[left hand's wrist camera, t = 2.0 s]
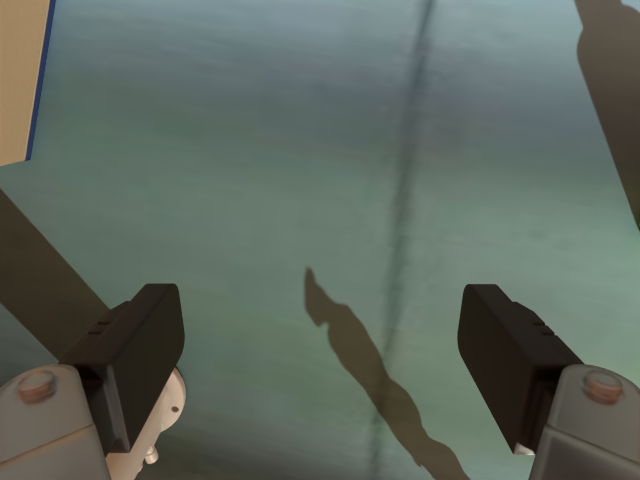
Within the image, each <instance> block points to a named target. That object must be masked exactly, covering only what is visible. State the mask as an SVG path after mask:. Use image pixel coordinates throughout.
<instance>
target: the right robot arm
mask: <svg viewBox="0 0 640 480" xmlns="http://www.w3.org/2000/svg"><path fill="white" fill-rule="evenodd" d="M185 399H186V388H185V385H184V381H183V379H182V377H181V375H180V373H179V372H178V370H177V369H176V368H174V370H173V372H172V374H171V375H170V377H169V379H168V381H167V383H166V385H165V387H164V389H163V391H162V393H161V394H160V396H159V398H158V400H157V402H156V404H155V406H154V408H153V410H152V412H151V413H150V415H149V417H148V419H147V421H146V423H145V425H144V427H143V429H142V430H141V432H140V434H139V436H138V438H137V440H136V442H135V444H134V446H133V448H132V449H131V451H130V453H108V455H107V457H106V458H105V459H106V462H107V466H108V469H109V472H110V476H111V479H112V480H134V479H135V477H136V475H137V473H138V472H139V471H140V470H141V469H142V468H143V463H142V462H143V460H144V458H145V460H146V462H147V463H148V464H151V463H154V462H155V461H156V460H157V459H158V453H157V450H156V448H155V447H154V444H155V442H156V440H157V438H158V436H159V433H160V432H161V431H164V430H165V429H167V428H168V427H170V426H171V425H172V424H173V423H174V422H175V421H176V420H177V419H178V417H179V415H180V414H181V412H182V409H183V407H184V404H185Z"/></svg>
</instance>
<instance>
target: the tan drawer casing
mask: <svg viewBox="0 0 640 480" xmlns="http://www.w3.org/2000/svg"><path fill="white" fill-rule="evenodd" d="M55 2H56V0H0V166H2V165H7V164H11V163H15V162H20V161H27V160H30V157H31V151H32V145H33V139H34V132H35V126H36V120H37V114H38V108H39V101H40V95H41V89H42V83H43V76H44V70H45V64H46V58H47V51H48V45H49V39H50V33H51V26H52V20H53V14H54V8H55Z"/></svg>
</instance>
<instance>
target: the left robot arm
mask: <svg viewBox="0 0 640 480" xmlns="http://www.w3.org/2000/svg"><path fill="white" fill-rule="evenodd" d="M457 338H458V348H459V352H460V355H461V357H462V359H463V361H464V363H465V365H466V366H467V368H468V370H469V372H470V374H471V376H472V378H473V380H474V381H475V383H476V385H477V387H478V389H479V391H480V393H481V395H482V396H483V398H484V400H485V402H486V404H487V406H488V408H489V409H490V411H491V413H492V415H493V417H494V419H495V421H496V423H497V424H498V426H499V428H500V430H501V432H502V434H503V436H504V438H505V439H506V441H507V443H508V445H509V447H510V449H511V451H512V453H513V454H514V455H535V459H534V462H533V466H532V469H531V472H530V476H529V479H528V480H640V389H639V388H638V387H637V386H636V385H635V384H634V383H632V382H631V381H630V380H628V379H626V378H625V377H623V376H621V375H619V374H617V373H615V372H613V371H610V370H607V369H605V368H601V367H598V366H593V365H586V364H584V363H583V362H582V361H581V360H580V359H579V358H578V357H577V356H576V355H575V354H574V353H573V352H572V351H571V349H570V348H569V347H568V346H567V345H566V344H565V343H564V342H563V341H562V340H561V339H560V338H559V337H558V336H557V335H554V332H553V331H552V330H551V329H550V328H549V327H548V326H545V323H544V322H543V321H542V320H541V319H540V318H539V317H538V316H537V315H536V313H535V312H533V311H532V310H530V309H528V308H526V307H525V306H523V305H521V304H519V303H518V302H512V301H511V300H510V299H509V298H508V297H507V295H506V294H505V293H504V292H503V291H502V290H501V289H500V288H499V287H498V286H497V285H496V284H468V285H466V287H465V289H464V292H463V298H462V306H461V313H460V320H459V327H458V337H457ZM184 339H185V334H184V326H183V318H182V311H181V304H180V297H179V291H178V287H177V286H176V284H146V285H144V287H143V288H142V289H141V290H140V291H139V292H138V293H137V294H136V295H135V296H134V298H133V299H132V300H131V301H125V302H124V303H122V304H120V305H118V306H117V307H115V308H113V309H111V310H110V311H108V312H107V313H106V314H105V315H104V317H103V318H102V319H101V320H100V321H99V322H98V325H95V326H94V327H93V328H92V329H91V330H90V331H89V334H88V335H85V336H84V337H83V338H82V339H81V340H80V341H79V342H78V344H77V345H76V346H75V347H74V348H73V349H72V350H71V351H70V352H69V353H68V354H67V355H66V356H65V357H64V358H63V359H62V360H61V361H60V362H59V363H58V364H54V365H47V366H42V367H39V368H35V369H33V370H30V371H27V372H25V373H23V374H21V375H19V376H17V377H15V378H14V379H12V380H10V381H9V382H8V383H6V384H5V385H4V386H3V387H2V388H1V389H0V480H112V479H111V476H110V472H109V469H108V466H107V462H106V459H105V458H106V457H107V455H108V453H130V451H131V449H132V448H133V446H134V444H135V442H136V440H137V438H138V436H139V434H140V432H141V430H142V429H143V427H144V425H145V423H146V421H147V419H148V417H149V415H150V413H151V412H152V410H153V408H154V406H155V404H156V402H157V400H158V398H159V396H160V394H161V393H162V391H163V389H164V387H165V385H166V383H167V381H168V379H169V377H170V375H171V374H172V372H173V370H174V368H175V366H176V364H177V362H178V360H179V358H180V356H181V354H182V351H183V347H184Z"/></svg>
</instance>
